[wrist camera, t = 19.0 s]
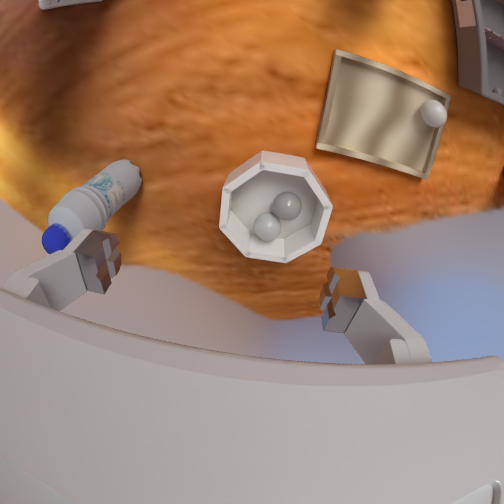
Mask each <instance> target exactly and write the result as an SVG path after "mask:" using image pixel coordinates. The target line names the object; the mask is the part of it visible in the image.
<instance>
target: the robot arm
mask: <svg viewBox="0 0 504 504" xmlns="http://www.w3.org/2000/svg"><path fill="white" fill-rule="evenodd" d="M100 1H102V0H39V6H40V9H43V10H47V9H51V8H57V7H62V6H68V5H75V4H82V3H91V2H100ZM118 244H119V241H118V236H117V235H116V234H114V233H108V232H103V231H97V230H92V229H82V230H81V231H80V232H79V233H78V235H77V236H76V237H75V238H74V239H73V240H72V241H71V242H70V243H69V244H68V245H67V246H66V247H65V248H64V249H63V250H58V251H56V252H54V253H52V254H50V255H48V256H45V257H43V258H41V259H39V260H37V261H35V262H33V263H30V264H28V265H26V266H24V267H22V268H20V269H18V270H16V271H15V272H14V274H13V275H12V276H11V277H10V278H9V279H8V281H7V282H6V283H5V284H4V285H3V287H2V288H0V504H504V361H503V360H502V359H500V358H499V357H497V356H487V357H480V358H473V359H464V360H455V361H445V362H432V359H431V356H430V353H429V351H428V348H427V345H426V343H425V340H424V338H423V337H422V336H420V334H418V333H417V332H416V331H415V330H414V329H413V328H412V327H411V326H410V325H409V324H408V323H407V322H406V321H405V320H403V319H402V318H401V317H400V316H399V315H398V314H397V313H396V312H395V311H394V310H393V309H392V308H390V307H389V306H388V305H387V304H386V303H385V302H384V301H380V299H379V297H378V294H377V291H376V289H375V286H374V284H373V282H372V278H371V276H370V273H369V272H367V271H358V270H347V269H341V268H334V267H331V268H330V269H329V271H328V274H327V279H328V281H327V282H326V283H325V284H323V286H322V289H321V292H320V298H319V304H320V309H321V310H322V311H323V312H324V313H323V315H322V317H321V318H322V325H323V331H328V332H337V333H344V335H345V336H346V338H347V339H348V340H349V342H350V343H351V344H352V346H353V347H354V348H355V350H356V351H357V353H358V354H359V355H360V357H361V358H362V359H363V361H364V362H365V364H336V363H317V362H303V361H290V360H280V359H271V358H262V357H254V356H246V355H239V354H232V353H226V352H219V351H213V350H207V349H202V348H196V347H190V346H186V345H180V344H176V343H171V342H166V341H162V340H157V339H153V338H149V337H144V336H140V335H136V334H132V333H128V332H125V331H121V330H117V329H114V328H110V327H107V326H103V325H100V324H96V323H93V322H90V321H86V320H83V319H80V318H77V317H74V316H71V315H68V314H65V313H62V312H60V310H62V309H63V308H65V307H66V306H67V305H69V304H70V303H71V302H73V301H74V300H75V299H77V298H78V297H80V296H81V295H83V294H84V293H85V292H87V291H91V292H96V293H100V294H105V292H106V291H107V289H108V288H109V286H110V285H111V278H112V277H114V276H116V275H117V273H118V272H119V270H120V266H121V253H120V252H119V250H118V249H117V248H116V247H117V245H118Z"/></svg>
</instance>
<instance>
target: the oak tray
mask: <svg viewBox="0 0 504 504" xmlns="http://www.w3.org/2000/svg"><path fill="white" fill-rule="evenodd" d="M450 99H451V96H450V95H448V94H447V93H445V92H443V91H441V90H439V89H437V88H435V87H433V86H431V85H429V84H427V83H425V82H423V81H421V80H419V79H417V78H415V77H413V76H410V75H408V74H406V73H404V72H401V71H399V70H396V69H394V68H391V67H389V66H386V65H384V64H381V63H378V62H376V61H373V60H370V59H367V58H364V57H361V56H358V55H355V54H352V53H348V52H345V51H341V50H338V49H336V50H334V53H333V59H332V64H331V69H330V75H329V80H328V85H327V90H326V95H325V100H324V105H323V110H322V115H321V120H320V125H319V129H318V134H317V139H316V143H315V147H316V148H317V149H321V150H326V151H330V152H334V153H338V154H343V155H347V156H350V157H354V158H358V159H362V160H366V161H369V162H373V163H376V164H380V165H383V166H386V167H390V168H393V169H396V170H399V171H402V172H405V173H408V174H411V175H414V176H417V177H420V178H423V179H426V180H428V177H429V174H430V171H431V168H432V165H433V162H434V159H435V156H436V153H437V149H438V146H439V143H440V139H441V136H442V132H443V128H444V125H443V126H441V127H438V128H434V127H431V126H429V125H427V124H426V123H425V122H424V120H423V119H422V117H421V106H422V104H423V103H424V102H425V101H427V100H436V101H438V102H440V103H441V104H442V105H443V106H444V108H445V109H446V112H448V108H449V104H450Z"/></svg>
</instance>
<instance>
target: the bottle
mask: <svg viewBox="0 0 504 504" xmlns="http://www.w3.org/2000/svg"><path fill="white" fill-rule="evenodd" d="M139 171H140V169H139V167H138V166H134V165H133V164H131V161H130V160H119V161H115V162H113V163H111V164H110V165H108V166H107V167H106V168H105V169H103V170H102V171H101V172H100V173H99V174H97V175H96V176H94V177H93V178H92V179H90V180H89V181H87V182H86V183H85V184H83V185H82V186H81V187H78V188H74V189H72V190H71V191H70V192H68V193H66V194H65V195H64V196H63V197H62V199H61V200H60V201H59V202H58V203H57V204H56V205H55V206H54V208H53V209H52V210H51V211H50V213H49V216H48V227H49V228H48V229H46V231H45V232H44V233H43V236H42V244H43V247H44V249H45V250H46V252H47V253H48V254H49V255H50V254H52V253H54V252H56V251H58V250H63V249H64V248H65V247H66V246H67V245H68V244H69V243H70V242H71V241H72V240H73V239H74V238H75V237H76V236H77V235H78V233H79V232H80V231H81V230H82V229H92V230H97V231H103V229H104V228H105V225H106V222H107V221H108V220H109V219H110V218H111V217H112V216H113V215H114V214H115V213H116V212H117V211H118V210H119V209H120V208H121V206H123V205H124V204H125V203H126V202H128V201H129V200H130V199H131V198H132V197H133V196H134V195H135V194H136V193H137V191H138V190H139V188H140V186H141V184H142V178H141V177H140V174H139Z"/></svg>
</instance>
